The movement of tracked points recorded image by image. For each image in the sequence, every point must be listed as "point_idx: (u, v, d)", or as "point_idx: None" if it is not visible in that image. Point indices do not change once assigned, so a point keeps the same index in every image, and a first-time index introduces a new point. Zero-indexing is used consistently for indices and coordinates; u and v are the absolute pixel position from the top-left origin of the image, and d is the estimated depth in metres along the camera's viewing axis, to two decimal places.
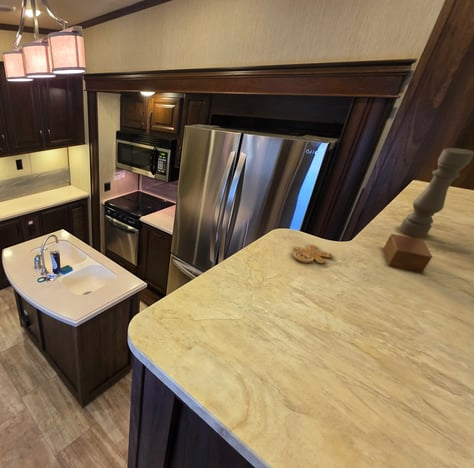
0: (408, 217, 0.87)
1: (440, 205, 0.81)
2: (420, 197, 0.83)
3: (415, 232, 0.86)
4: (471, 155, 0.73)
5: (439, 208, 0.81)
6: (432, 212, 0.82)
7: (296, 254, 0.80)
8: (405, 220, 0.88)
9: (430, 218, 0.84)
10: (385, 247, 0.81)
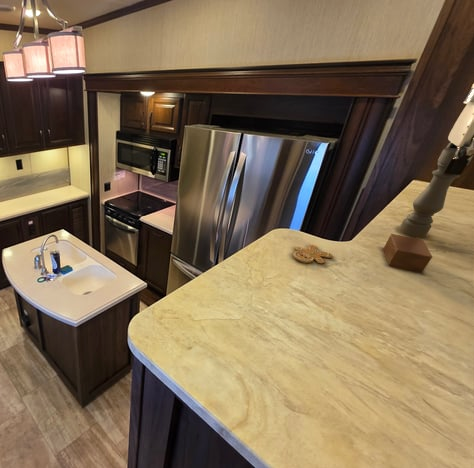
0: (408, 217, 0.87)
1: (440, 205, 0.81)
2: (420, 197, 0.83)
3: (415, 232, 0.86)
4: None
5: (439, 208, 0.81)
6: (432, 212, 0.82)
7: (296, 254, 0.80)
8: (405, 220, 0.88)
9: (430, 218, 0.84)
10: (385, 247, 0.81)
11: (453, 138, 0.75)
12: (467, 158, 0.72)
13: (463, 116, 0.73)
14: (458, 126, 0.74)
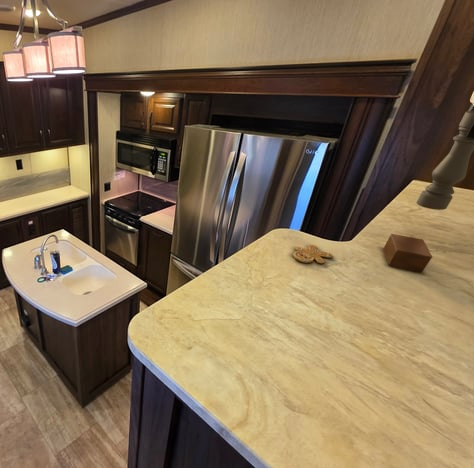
0: (427, 188, 0.82)
1: (462, 173, 0.76)
2: (440, 166, 0.78)
3: (435, 204, 0.80)
4: None
5: (461, 176, 0.76)
6: (454, 181, 0.77)
7: (296, 254, 0.80)
8: (423, 192, 0.83)
9: (451, 188, 0.79)
10: (385, 247, 0.81)
11: None
12: None
13: None
14: None
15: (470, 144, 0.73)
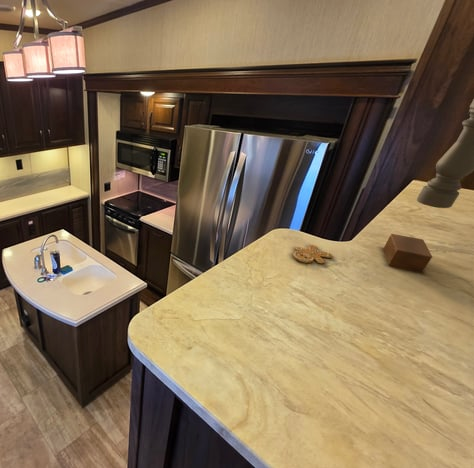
0: (429, 183, 0.70)
1: (472, 165, 0.64)
2: (445, 156, 0.66)
3: (438, 201, 0.69)
4: None
5: (470, 168, 0.64)
6: (461, 174, 0.65)
7: (296, 254, 0.80)
8: (425, 187, 0.71)
9: (458, 183, 0.67)
10: (385, 247, 0.81)
11: None
12: None
13: None
14: None
15: None
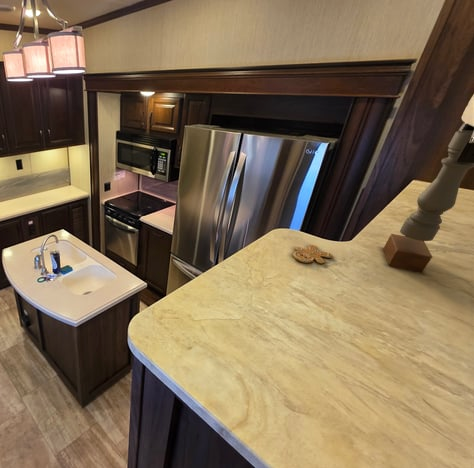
0: (411, 216, 0.72)
1: (451, 201, 0.65)
2: (426, 192, 0.68)
3: (420, 234, 0.70)
4: None
5: (450, 205, 0.66)
6: (441, 209, 0.67)
7: (296, 254, 0.80)
8: (408, 220, 0.73)
9: (438, 217, 0.69)
10: (385, 247, 0.81)
11: (469, 117, 0.60)
12: None
13: None
14: None
15: (460, 169, 0.63)
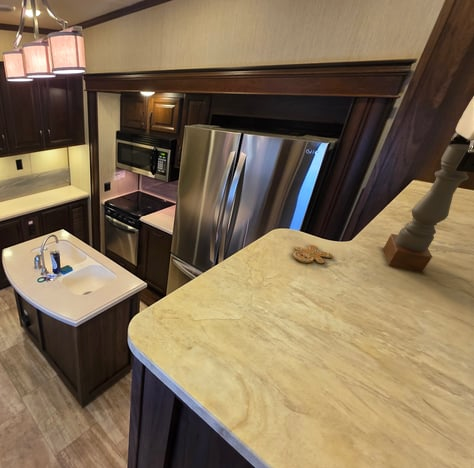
0: (406, 226, 0.73)
1: (445, 213, 0.67)
2: (420, 203, 0.70)
3: (414, 244, 0.72)
4: None
5: (443, 216, 0.67)
6: (435, 221, 0.68)
7: (296, 254, 0.80)
8: (403, 230, 0.74)
9: (432, 228, 0.70)
10: (385, 247, 0.81)
11: (462, 129, 0.61)
12: None
13: None
14: (468, 114, 0.60)
15: (453, 182, 0.64)
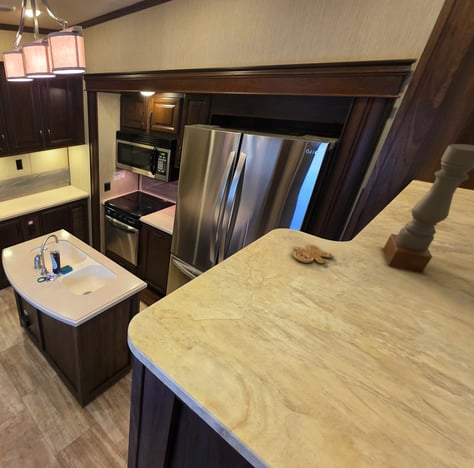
0: (406, 226, 0.73)
1: (445, 213, 0.67)
2: (420, 203, 0.70)
3: (414, 244, 0.72)
4: None
5: (443, 216, 0.67)
6: (435, 221, 0.68)
7: (296, 254, 0.80)
8: (403, 230, 0.74)
9: (432, 228, 0.70)
10: (385, 247, 0.81)
11: None
12: None
13: None
14: None
15: (453, 182, 0.64)
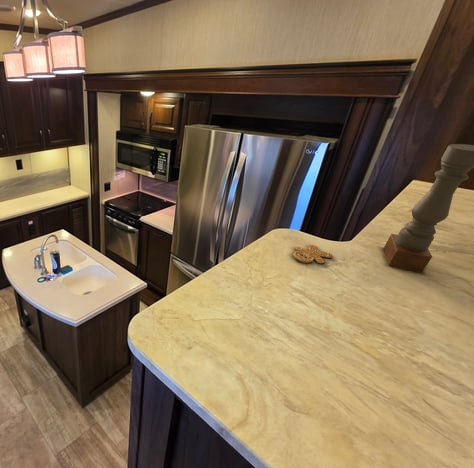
0: (406, 226, 0.73)
1: (445, 213, 0.67)
2: (420, 203, 0.70)
3: (414, 244, 0.72)
4: None
5: (443, 216, 0.67)
6: (435, 221, 0.68)
7: (296, 254, 0.80)
8: (403, 230, 0.74)
9: (432, 228, 0.70)
10: (385, 247, 0.81)
11: None
12: None
13: None
14: None
15: (453, 182, 0.64)
